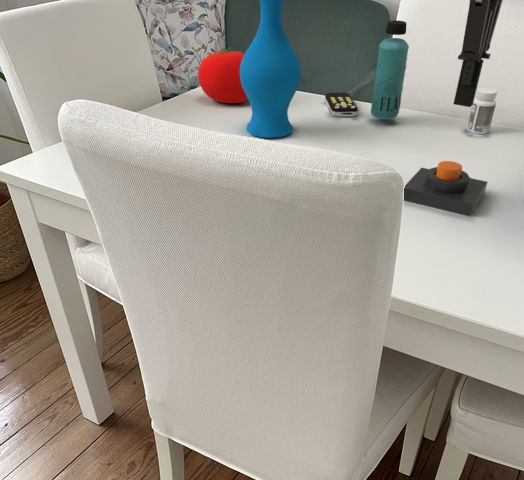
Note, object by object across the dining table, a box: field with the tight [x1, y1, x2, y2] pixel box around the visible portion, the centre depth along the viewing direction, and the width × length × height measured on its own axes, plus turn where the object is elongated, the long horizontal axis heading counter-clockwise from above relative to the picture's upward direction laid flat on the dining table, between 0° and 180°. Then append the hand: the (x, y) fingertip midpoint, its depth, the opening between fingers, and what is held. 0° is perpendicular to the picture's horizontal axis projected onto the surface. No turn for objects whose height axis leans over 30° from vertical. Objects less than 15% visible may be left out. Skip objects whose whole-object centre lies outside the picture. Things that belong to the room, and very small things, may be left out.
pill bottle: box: [466, 87, 498, 135], centre depth 122 cm, size 5×5×8 cm
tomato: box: [197, 46, 248, 104], centre depth 136 cm, size 12×14×11 cm
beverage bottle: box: [370, 19, 410, 120], centre depth 123 cm, size 6×7×20 cm
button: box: [436, 160, 463, 181], centre depth 97 cm, size 4×4×2 cm
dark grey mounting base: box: [403, 166, 488, 217], centre depth 99 cm, size 12×10×4 cm
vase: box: [240, 0, 302, 139], centre depth 115 cm, size 12×13×28 cm
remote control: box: [324, 92, 359, 118], centre depth 135 cm, size 6×13×2 cm, turn 4°
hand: (463, 104), depth 90 cm, fingers closed
